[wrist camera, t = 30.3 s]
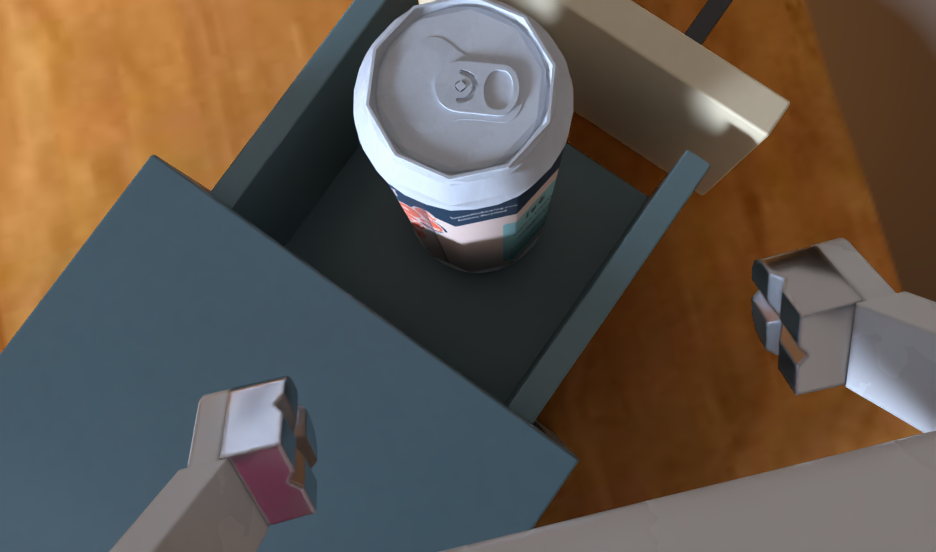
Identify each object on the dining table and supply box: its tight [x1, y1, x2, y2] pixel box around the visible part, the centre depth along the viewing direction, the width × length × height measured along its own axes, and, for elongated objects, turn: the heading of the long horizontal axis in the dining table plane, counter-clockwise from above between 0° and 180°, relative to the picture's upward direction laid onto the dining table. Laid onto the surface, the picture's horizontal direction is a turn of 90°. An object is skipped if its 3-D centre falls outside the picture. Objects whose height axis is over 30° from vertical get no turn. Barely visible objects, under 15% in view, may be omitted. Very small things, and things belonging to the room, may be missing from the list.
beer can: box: [353, 0, 573, 273], centre depth 23 cm, size 5×5×12 cm
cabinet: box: [0, 155, 579, 552], centre depth 25 cm, size 17×14×9 cm
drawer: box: [210, 0, 790, 424], centre depth 26 cm, size 21×13×7 cm, turn 145°
